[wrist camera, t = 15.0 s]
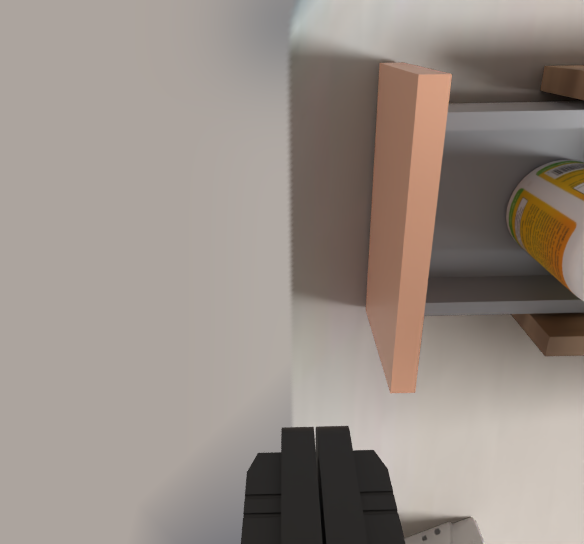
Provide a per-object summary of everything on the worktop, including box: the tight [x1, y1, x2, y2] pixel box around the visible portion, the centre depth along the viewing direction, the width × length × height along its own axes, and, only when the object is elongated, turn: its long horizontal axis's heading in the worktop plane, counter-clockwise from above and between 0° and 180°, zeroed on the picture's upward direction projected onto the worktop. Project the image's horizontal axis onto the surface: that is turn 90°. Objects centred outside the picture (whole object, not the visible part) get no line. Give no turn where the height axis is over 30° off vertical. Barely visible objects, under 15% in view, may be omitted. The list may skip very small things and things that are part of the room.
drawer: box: [366, 63, 584, 393], centre depth 24 cm, size 14×14×8 cm
